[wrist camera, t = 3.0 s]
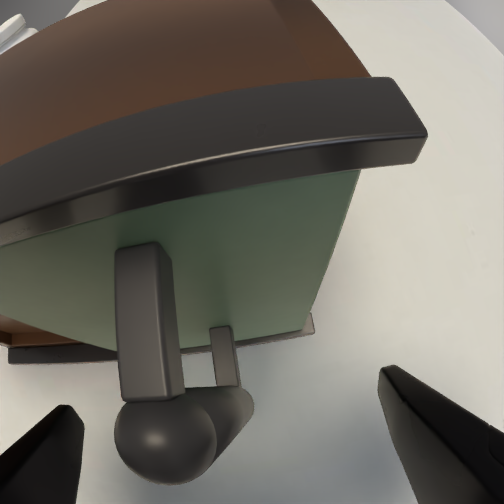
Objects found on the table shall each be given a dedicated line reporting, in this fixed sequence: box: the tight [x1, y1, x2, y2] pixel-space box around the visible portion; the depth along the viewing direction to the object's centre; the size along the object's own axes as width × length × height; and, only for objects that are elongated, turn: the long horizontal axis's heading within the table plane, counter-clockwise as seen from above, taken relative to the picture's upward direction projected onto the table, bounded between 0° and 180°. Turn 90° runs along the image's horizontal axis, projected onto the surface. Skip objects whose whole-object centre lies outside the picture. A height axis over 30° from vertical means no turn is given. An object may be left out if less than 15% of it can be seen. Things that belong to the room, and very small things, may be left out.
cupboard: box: [0, 0, 428, 365], centre depth 11 cm, size 8×20×14 cm, turn 99°
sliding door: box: [0, 169, 361, 485], centre depth 9 cm, size 4×9×13 cm, turn 99°
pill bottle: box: [0, 14, 38, 54], centre depth 23 cm, size 6×6×11 cm
